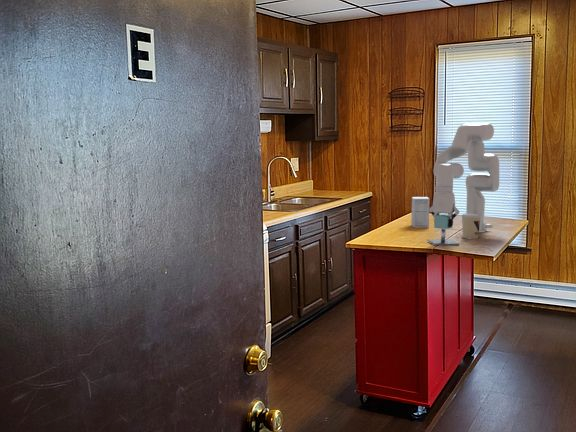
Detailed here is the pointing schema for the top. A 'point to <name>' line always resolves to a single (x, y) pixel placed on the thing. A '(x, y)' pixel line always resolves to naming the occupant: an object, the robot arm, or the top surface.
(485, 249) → the top surface
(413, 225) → the supplement box
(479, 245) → the top surface
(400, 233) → the top surface
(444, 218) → the collar
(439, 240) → the shaft stand
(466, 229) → the coffee cup
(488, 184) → the robot arm
